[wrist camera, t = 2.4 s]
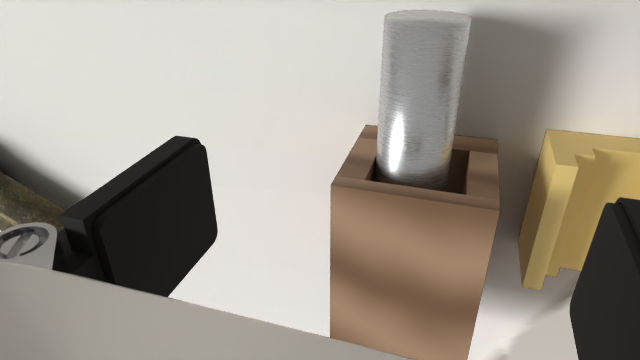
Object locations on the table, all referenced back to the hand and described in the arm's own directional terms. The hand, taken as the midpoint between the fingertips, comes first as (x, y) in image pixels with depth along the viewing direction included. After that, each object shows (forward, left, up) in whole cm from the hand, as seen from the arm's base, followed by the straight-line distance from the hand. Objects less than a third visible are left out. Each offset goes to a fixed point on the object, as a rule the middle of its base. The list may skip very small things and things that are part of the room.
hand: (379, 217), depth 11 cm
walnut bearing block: (+11, 0, -18) cm, 21 cm away
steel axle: (+7, -1, -14) cm, 16 cm away
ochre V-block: (+8, +10, -18) cm, 22 cm away
